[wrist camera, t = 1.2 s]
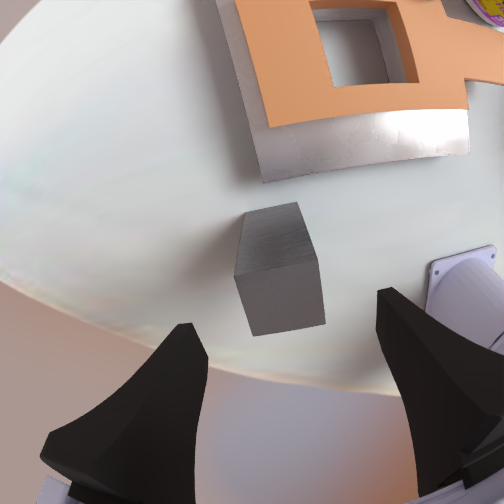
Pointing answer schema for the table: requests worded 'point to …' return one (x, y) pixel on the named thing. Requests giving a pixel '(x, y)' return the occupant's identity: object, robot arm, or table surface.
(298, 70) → the bracket
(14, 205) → the table surface
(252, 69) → the peg hole board
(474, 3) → the supplement bottle
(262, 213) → the grey metal square peg
